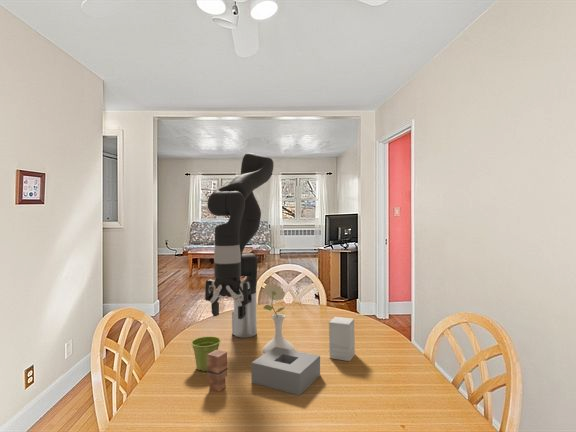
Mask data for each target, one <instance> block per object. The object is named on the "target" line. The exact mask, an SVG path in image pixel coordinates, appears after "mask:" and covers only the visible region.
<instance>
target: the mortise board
mask: <svg viewBox="0 0 576 432" xmlns="http://www.w3.org/2000/svg"><path fill="white" fill-rule="evenodd" d="M250 363H251V364H250V365H251V370H250V372H251V384H255V385H259V386H263V387H266V388H271V389H274V390H277V391H278V390H279V391H282V392H286V393H290V394H293V395H297V396H301V395H302V394H303V393H304V392H305V391H306V390H307V389H308V388H309V387H310V386H311V385H312V384H313V383H314V382H315V381H316V380H317V379H318V378H319V377H320V375H321V355H318V354H314V353H310V352H309V353H308V352H303V351H298V350H295V351H294V350H289V349H284V348H279V347H274V348H273V349H271V350H270V351H268V352H267V353H265V354H264V353H263V354H262V355H260V356H259V357H258V358H255V360H253V361H252V362H250Z"/></svg>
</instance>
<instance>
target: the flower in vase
mask: <svg viewBox="0 0 576 432" xmlns="http://www.w3.org/2000/svg"><path fill="white" fill-rule="evenodd" d="M263 293H264V294H265V295H266V297H267V298H269V299H271V305H270V304H265V305H264V306H263V309H264V310H267V311H270V312H271V311H272V310H273V312H274V314H272V315H271V318H272V320H273V322H274V328H275V330H274V333H275V334H274V336H273V338H272V339H270V341H268V342H267V343H266V344H265V345H264V346H263V348H262V353H263V355H264V354H265V353H267V352H268V351H270V350H271V349H273V348H274V347H279V348H284V349H289V350H294V351H296V349H295V346H294V345H293V344H292V343H291V342H290V341H288V340H287V339H285V338H284V336H283V332H282V330H283V322H284V320H285V318H286V314H283V313H279V312H281V311H283V310H284V309H285V306H283V307H280V308H278V309H277V310H275V308H274V307H273V303H274V302H273V301H278V302H279V301H281V300H284V299H285V296H286V292H285V291H284V288H283V287H282V286H280V285H279V286H278V284H277V283H275V284H274V283H273V282H272V283H271V282H270V283H268V284H265V285H264V286H263Z"/></svg>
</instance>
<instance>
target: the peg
mask: <svg viewBox="0 0 576 432" xmlns="http://www.w3.org/2000/svg"><path fill="white" fill-rule="evenodd" d="M228 370H229V367H228V352H227V351H224V350H220V349H218V350H215V351H213V352H211V353H209V354H207V371H206V373H207V375H206V376H207V377H206V379H208V380H209V389H210V390H212V389H213V391H215V390H216V392H219V390H220V391H221V390H222V389H224V388H226V386H227V385H226V378H227V377H228Z"/></svg>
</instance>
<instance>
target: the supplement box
mask: <svg viewBox="0 0 576 432" xmlns="http://www.w3.org/2000/svg"><path fill="white" fill-rule="evenodd" d="M328 333H329V334H328V336H329V337H328V339H329V343H328V344H329V345H328V347H329V348H328V349H329V359H332V360H333V359H335V360H340V361H346V362H351V360H352V359H353V357H354V356H355V354H356V351H355V345H356V343H355V318H350V317H341V316H334V317H333V318H332V319H331V320H330V321H328Z"/></svg>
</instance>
